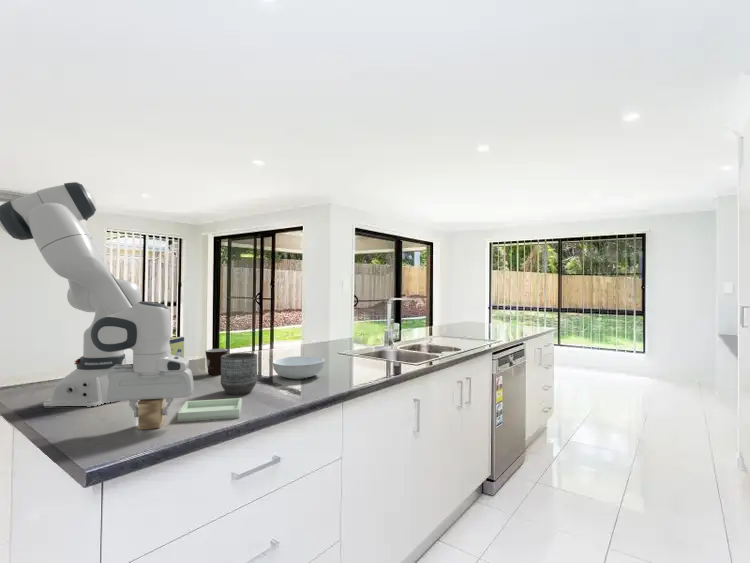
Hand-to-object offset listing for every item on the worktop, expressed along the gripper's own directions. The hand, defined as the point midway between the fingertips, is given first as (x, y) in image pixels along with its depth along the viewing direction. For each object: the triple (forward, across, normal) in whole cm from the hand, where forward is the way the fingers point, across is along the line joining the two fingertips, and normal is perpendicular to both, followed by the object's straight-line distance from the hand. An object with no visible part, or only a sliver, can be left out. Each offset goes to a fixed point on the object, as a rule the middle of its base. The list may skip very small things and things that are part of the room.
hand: (151, 415), depth 110 cm
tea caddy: (+3, 0, 0) cm, 3 cm away
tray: (+3, +14, +8) cm, 16 cm away
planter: (+3, +20, +32) cm, 38 cm away
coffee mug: (+3, +9, +63) cm, 64 cm away
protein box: (+3, -12, +64) cm, 65 cm away
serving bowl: (+3, +42, +52) cm, 67 cm away
